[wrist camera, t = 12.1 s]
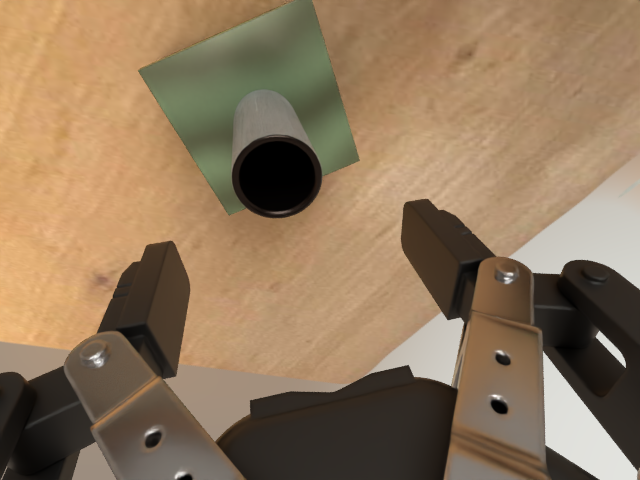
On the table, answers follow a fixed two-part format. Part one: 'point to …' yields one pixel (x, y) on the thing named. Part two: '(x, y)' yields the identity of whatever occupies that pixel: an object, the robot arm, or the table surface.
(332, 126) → the plant stand
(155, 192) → the table surface
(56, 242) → the table surface
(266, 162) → the grey hollow tube
